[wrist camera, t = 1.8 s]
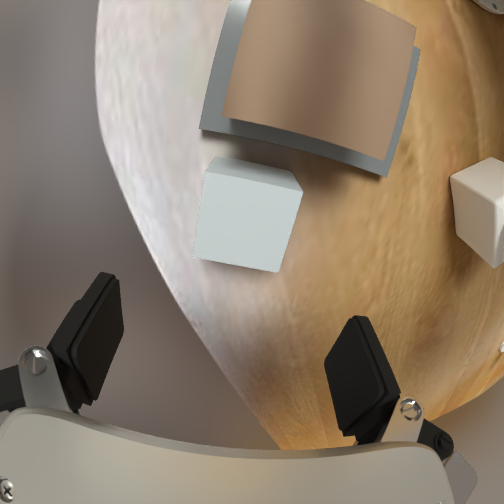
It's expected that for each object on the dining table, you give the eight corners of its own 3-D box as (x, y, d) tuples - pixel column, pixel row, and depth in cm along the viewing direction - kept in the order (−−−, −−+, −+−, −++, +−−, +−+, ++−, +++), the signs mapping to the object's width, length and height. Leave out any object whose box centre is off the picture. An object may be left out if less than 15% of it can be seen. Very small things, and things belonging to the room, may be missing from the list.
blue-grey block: (291, 171, 21) (303, 192, 16) (272, 236, 24) (278, 272, 19) (216, 155, 20) (205, 171, 16) (204, 223, 23) (192, 257, 19)
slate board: (413, 51, 15) (420, 49, 14) (380, 173, 21) (386, 177, 20) (235, -9, 13) (235, -14, 12) (201, 127, 19) (198, 128, 18)
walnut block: (375, 42, 14) (416, 27, 9) (349, 144, 19) (383, 161, 13) (257, 5, 13) (260, -30, 8) (230, 113, 18) (221, 116, 12)
